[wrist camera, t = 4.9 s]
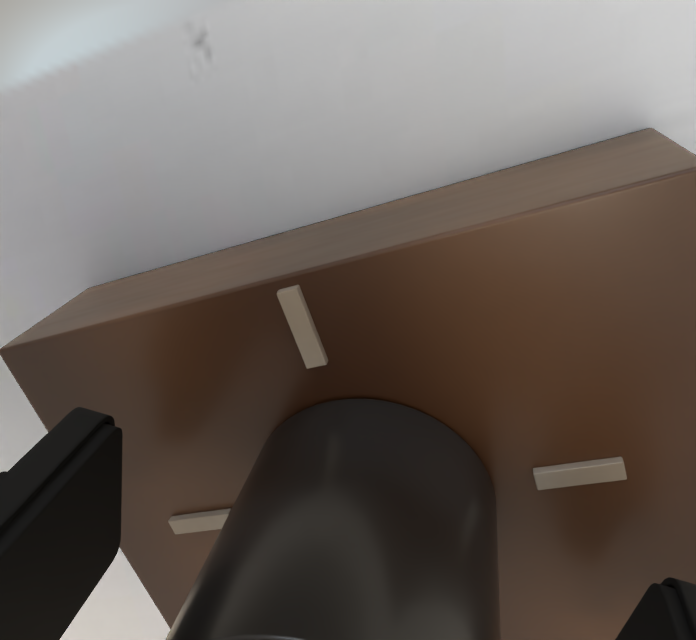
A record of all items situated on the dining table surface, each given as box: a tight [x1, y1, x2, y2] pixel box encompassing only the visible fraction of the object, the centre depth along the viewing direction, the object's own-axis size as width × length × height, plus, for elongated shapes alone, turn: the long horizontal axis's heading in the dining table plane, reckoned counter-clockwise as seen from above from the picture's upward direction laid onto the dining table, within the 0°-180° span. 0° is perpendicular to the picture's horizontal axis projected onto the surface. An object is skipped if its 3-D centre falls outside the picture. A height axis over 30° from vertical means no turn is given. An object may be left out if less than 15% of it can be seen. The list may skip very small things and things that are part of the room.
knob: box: [166, 399, 501, 640], centre depth 9 cm, size 4×4×5 cm
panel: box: [0, 128, 696, 640], centre depth 12 cm, size 12×9×3 cm
